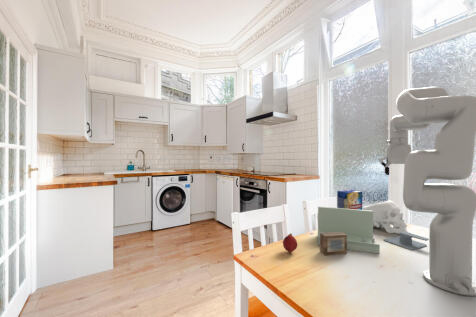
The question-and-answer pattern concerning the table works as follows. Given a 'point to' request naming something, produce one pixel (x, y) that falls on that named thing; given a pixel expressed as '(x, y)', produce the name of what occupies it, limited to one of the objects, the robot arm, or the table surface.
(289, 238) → the onion
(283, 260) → the table surface
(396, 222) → the skull planter
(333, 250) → the frame
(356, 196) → the beverage box
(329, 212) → the ledge
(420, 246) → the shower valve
